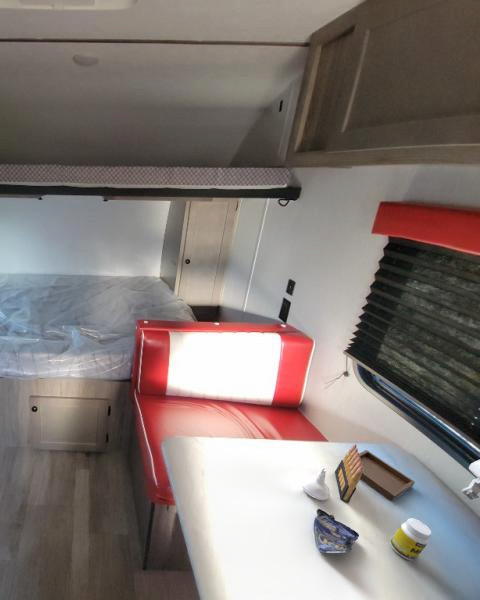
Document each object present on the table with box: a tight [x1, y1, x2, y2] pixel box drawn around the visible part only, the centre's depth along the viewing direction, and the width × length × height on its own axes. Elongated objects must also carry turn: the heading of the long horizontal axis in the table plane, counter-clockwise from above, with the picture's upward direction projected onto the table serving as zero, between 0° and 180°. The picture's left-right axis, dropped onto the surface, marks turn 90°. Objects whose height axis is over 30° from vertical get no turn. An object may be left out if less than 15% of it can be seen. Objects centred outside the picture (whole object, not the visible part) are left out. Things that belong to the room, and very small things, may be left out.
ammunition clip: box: [334, 444, 363, 504], centre depth 92 cm, size 11×2×12 cm, turn 151°
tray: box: [358, 449, 416, 502], centre depth 98 cm, size 12×12×2 cm
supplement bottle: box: [389, 517, 432, 561], centre depth 77 cm, size 5×5×8 cm
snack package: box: [313, 508, 360, 554], centre depth 79 cm, size 12×6×12 cm
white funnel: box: [301, 467, 331, 501], centre depth 90 cm, size 6×6×8 cm
